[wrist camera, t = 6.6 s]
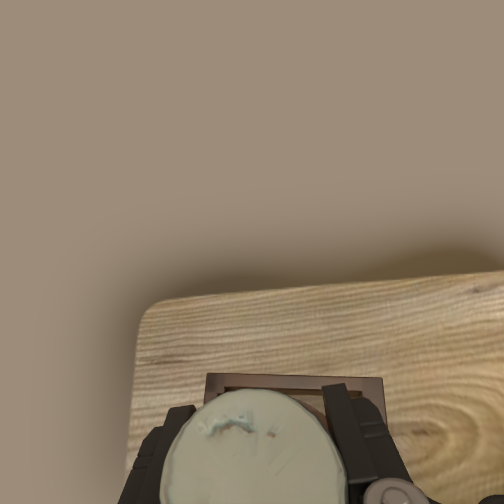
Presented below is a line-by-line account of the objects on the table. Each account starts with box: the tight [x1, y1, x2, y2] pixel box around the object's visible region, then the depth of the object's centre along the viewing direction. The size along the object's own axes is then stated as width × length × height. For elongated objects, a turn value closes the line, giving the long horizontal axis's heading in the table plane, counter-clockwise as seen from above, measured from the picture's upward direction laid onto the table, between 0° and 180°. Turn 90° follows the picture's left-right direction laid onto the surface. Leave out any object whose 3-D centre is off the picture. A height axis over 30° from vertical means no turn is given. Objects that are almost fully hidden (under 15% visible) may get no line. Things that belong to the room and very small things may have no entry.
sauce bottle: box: [159, 388, 349, 504], centre depth 16 cm, size 6×6×20 cm
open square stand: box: [203, 373, 388, 429], centre depth 22 cm, size 10×10×7 cm
